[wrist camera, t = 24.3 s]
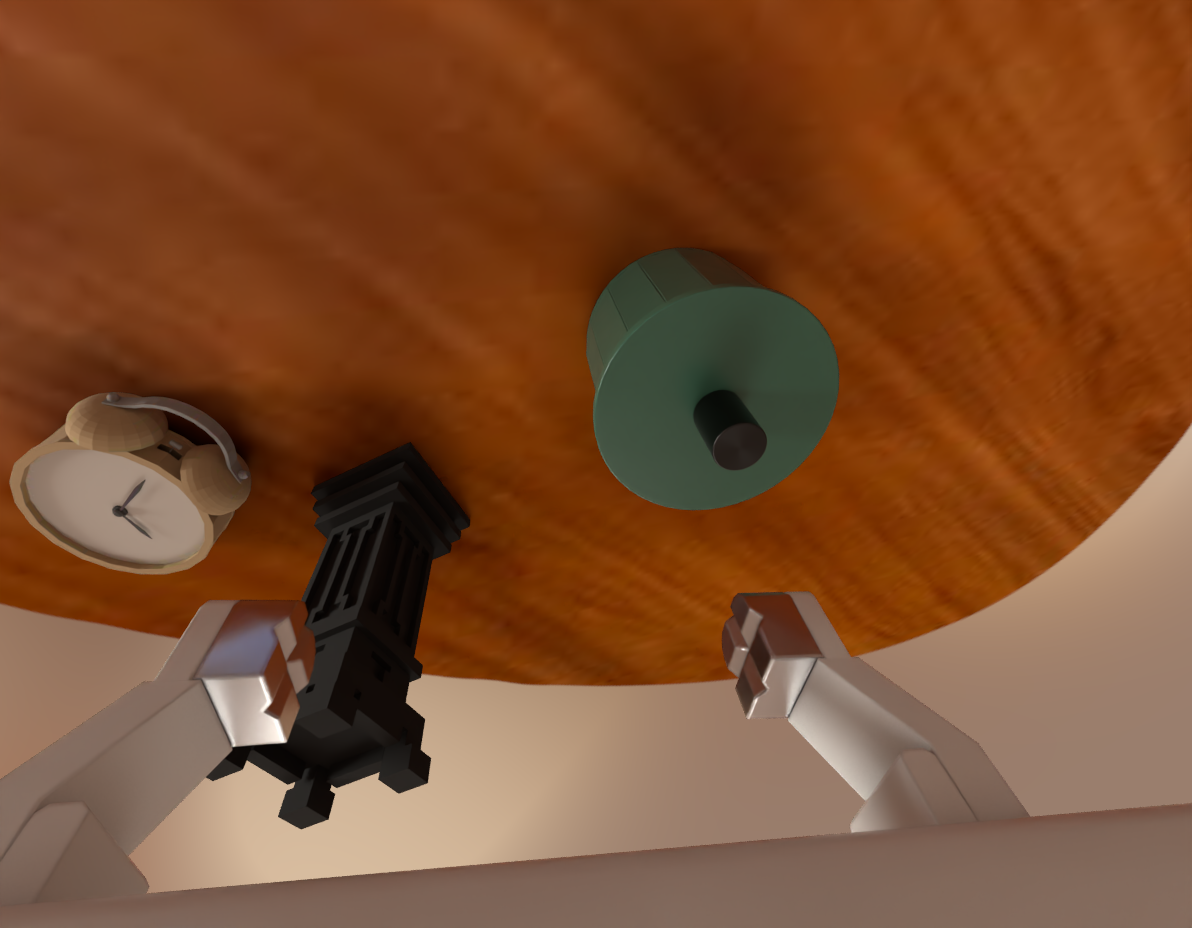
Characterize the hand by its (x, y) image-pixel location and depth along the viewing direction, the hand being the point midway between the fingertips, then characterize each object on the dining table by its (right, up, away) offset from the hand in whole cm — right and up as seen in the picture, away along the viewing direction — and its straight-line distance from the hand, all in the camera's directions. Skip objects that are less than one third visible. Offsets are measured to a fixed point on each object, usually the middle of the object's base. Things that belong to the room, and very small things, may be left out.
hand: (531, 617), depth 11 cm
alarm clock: (-28, +3, +27) cm, 39 cm away
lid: (+7, +6, +18) cm, 21 cm away
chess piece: (-14, 0, +31) cm, 34 cm away
